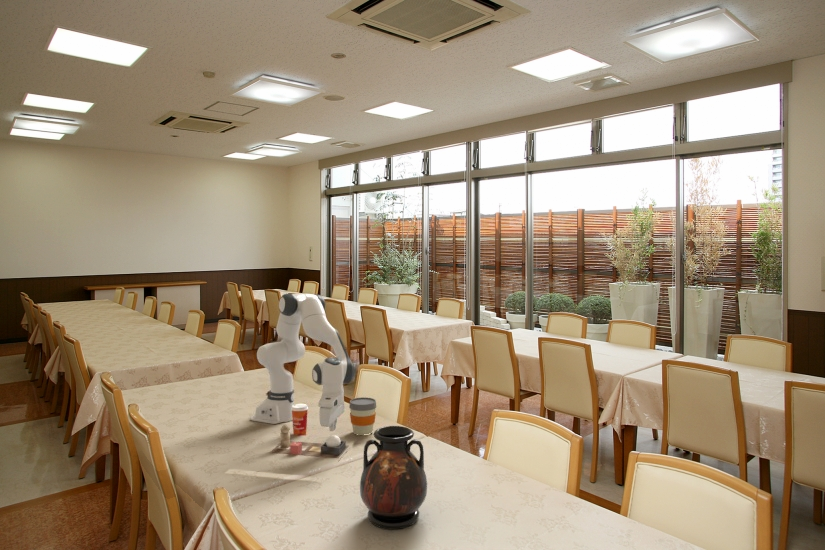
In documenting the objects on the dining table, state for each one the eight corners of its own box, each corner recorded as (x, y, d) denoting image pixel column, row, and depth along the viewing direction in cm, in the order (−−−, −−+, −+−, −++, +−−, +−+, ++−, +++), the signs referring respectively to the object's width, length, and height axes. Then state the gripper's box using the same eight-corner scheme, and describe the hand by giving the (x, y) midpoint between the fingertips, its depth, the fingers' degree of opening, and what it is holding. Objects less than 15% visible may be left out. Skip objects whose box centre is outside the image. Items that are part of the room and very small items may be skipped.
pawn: (278, 447, 226) (278, 426, 225) (282, 444, 230) (282, 423, 229) (287, 448, 225) (287, 426, 225) (291, 445, 229) (291, 423, 228)
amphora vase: (425, 501, 182) (425, 420, 181) (429, 535, 161) (429, 443, 159) (361, 502, 182) (361, 420, 180) (357, 536, 160) (357, 444, 159)
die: (290, 453, 220) (290, 445, 220) (293, 450, 223) (293, 441, 223) (298, 454, 219) (298, 445, 219) (301, 451, 223) (301, 442, 223)
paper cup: (287, 437, 244) (287, 406, 243) (298, 431, 250) (298, 402, 250) (301, 439, 240) (301, 409, 239) (312, 434, 247) (311, 404, 246)
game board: (269, 456, 221) (268, 445, 221) (283, 443, 235) (283, 433, 235) (338, 461, 216) (338, 450, 215) (349, 449, 229) (349, 438, 229)
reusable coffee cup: (344, 434, 247) (343, 402, 246) (359, 426, 258) (359, 395, 258) (367, 439, 241) (367, 406, 241) (381, 430, 252) (381, 399, 252)
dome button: (324, 451, 221) (324, 437, 220) (329, 446, 227) (329, 432, 226) (337, 452, 220) (337, 438, 219) (342, 447, 226) (342, 433, 225)
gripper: (334, 390, 233) (333, 421, 234) (316, 403, 213) (316, 437, 214) (348, 391, 232) (347, 422, 233) (331, 405, 212) (331, 439, 212)
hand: (332, 430), depth 223 cm, fingers closed
